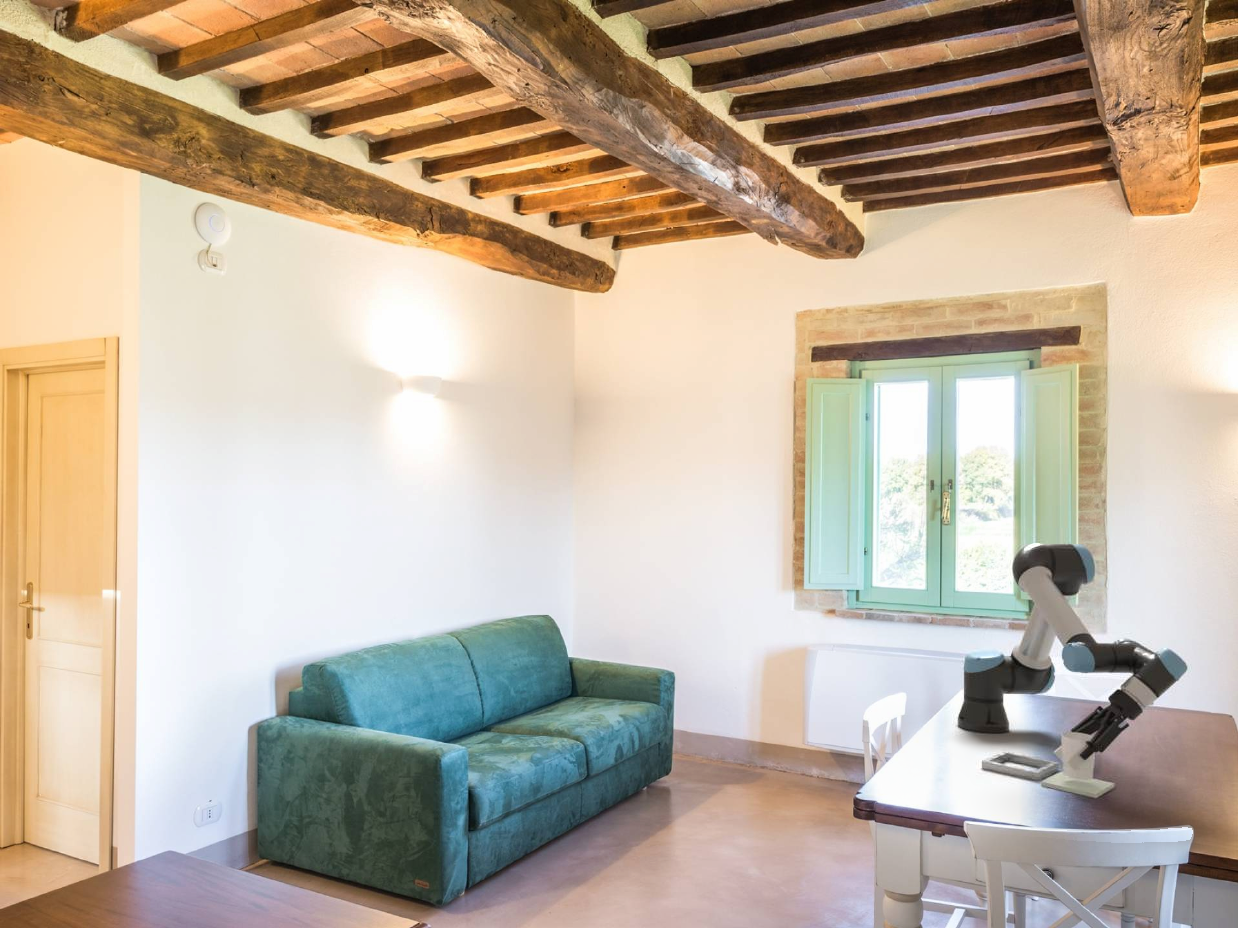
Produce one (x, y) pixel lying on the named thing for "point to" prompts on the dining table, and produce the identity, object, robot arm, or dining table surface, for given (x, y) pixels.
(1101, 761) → the dining table surface
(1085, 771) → the white cup
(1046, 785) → the sage tile
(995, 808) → the dining table surface
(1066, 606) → the robot arm
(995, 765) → the square frame
